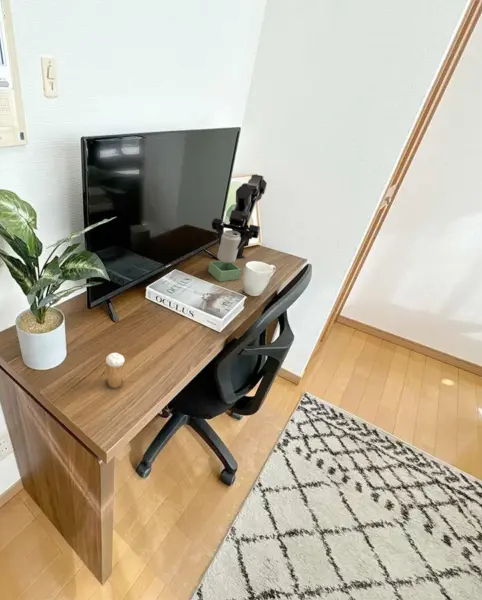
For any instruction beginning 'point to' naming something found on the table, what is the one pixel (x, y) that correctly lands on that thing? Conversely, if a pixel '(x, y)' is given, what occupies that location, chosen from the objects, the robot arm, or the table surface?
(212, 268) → the bin
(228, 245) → the can
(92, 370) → the table surface
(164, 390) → the table surface
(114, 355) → the milkshake
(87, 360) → the table surface
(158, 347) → the table surface
